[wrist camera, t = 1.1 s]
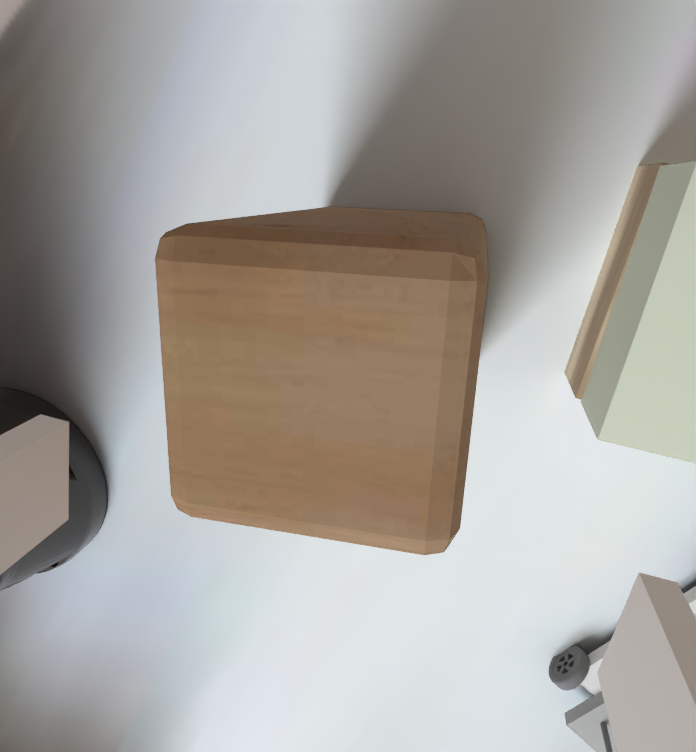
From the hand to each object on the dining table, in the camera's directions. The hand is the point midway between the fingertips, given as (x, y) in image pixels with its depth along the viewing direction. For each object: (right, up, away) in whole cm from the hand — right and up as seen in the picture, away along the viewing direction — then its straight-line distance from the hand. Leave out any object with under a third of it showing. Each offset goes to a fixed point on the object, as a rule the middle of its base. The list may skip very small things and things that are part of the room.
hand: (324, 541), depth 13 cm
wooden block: (+4, +9, +23) cm, 25 cm away
